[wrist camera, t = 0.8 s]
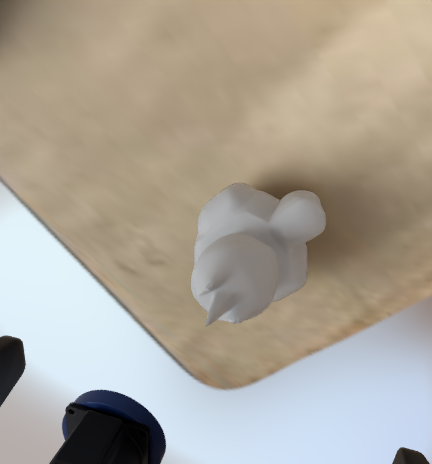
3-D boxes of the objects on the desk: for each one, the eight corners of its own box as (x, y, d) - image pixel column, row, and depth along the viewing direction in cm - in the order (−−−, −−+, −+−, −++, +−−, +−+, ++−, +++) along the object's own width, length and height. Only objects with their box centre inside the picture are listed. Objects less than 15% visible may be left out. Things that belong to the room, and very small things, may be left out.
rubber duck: (182, 216, 20) (103, 296, 13) (287, 136, 18) (257, 183, 10) (247, 295, 21) (205, 411, 14) (358, 230, 18) (374, 334, 11)
